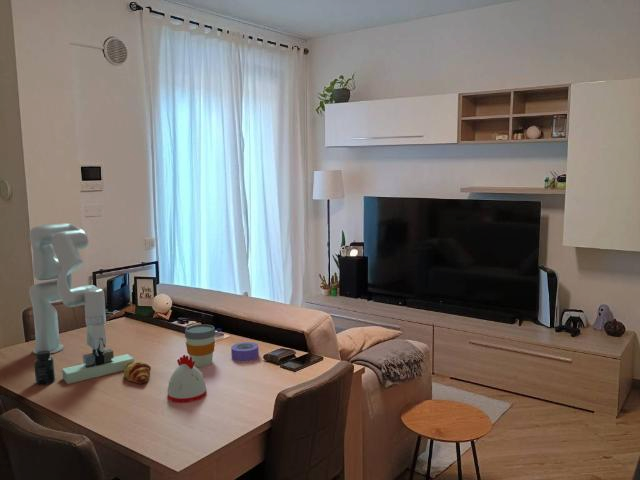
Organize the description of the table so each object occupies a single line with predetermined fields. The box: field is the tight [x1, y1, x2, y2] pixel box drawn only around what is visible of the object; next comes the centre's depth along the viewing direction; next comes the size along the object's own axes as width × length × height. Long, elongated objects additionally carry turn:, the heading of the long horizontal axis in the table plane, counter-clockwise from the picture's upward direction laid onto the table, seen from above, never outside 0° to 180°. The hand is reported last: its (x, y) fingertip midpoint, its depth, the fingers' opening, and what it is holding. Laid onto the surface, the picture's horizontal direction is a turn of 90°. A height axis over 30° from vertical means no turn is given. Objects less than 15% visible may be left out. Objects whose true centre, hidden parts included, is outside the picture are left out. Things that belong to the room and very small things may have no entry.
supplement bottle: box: [33, 350, 56, 386], centre depth 213 cm, size 7×7×12 cm
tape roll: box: [230, 341, 260, 363], centre depth 239 cm, size 12×12×5 cm
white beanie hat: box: [167, 354, 208, 404], centre depth 200 cm, size 14×14×15 cm
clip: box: [82, 348, 115, 368], centre depth 222 cm, size 3×11×7 cm, turn 129°
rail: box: [61, 353, 135, 385], centre depth 222 cm, size 7×26×4 cm, turn 129°
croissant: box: [123, 361, 152, 385], centre depth 217 cm, size 21×10×8 cm, turn 32°
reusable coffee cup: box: [184, 324, 216, 368], centre depth 232 cm, size 12×13×15 cm
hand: (98, 363), depth 222 cm, fingers closed on clip, 3 cm apart
